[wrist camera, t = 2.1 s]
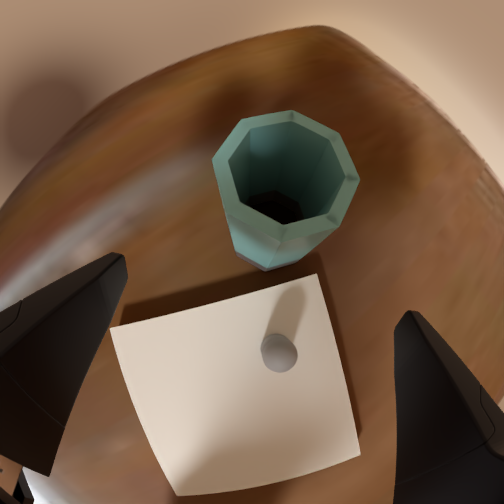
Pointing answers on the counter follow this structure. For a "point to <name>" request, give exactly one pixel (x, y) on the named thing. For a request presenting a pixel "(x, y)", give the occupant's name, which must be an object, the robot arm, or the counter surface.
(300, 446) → the pin board
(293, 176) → the teal faceted cylinder
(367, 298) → the counter surface
